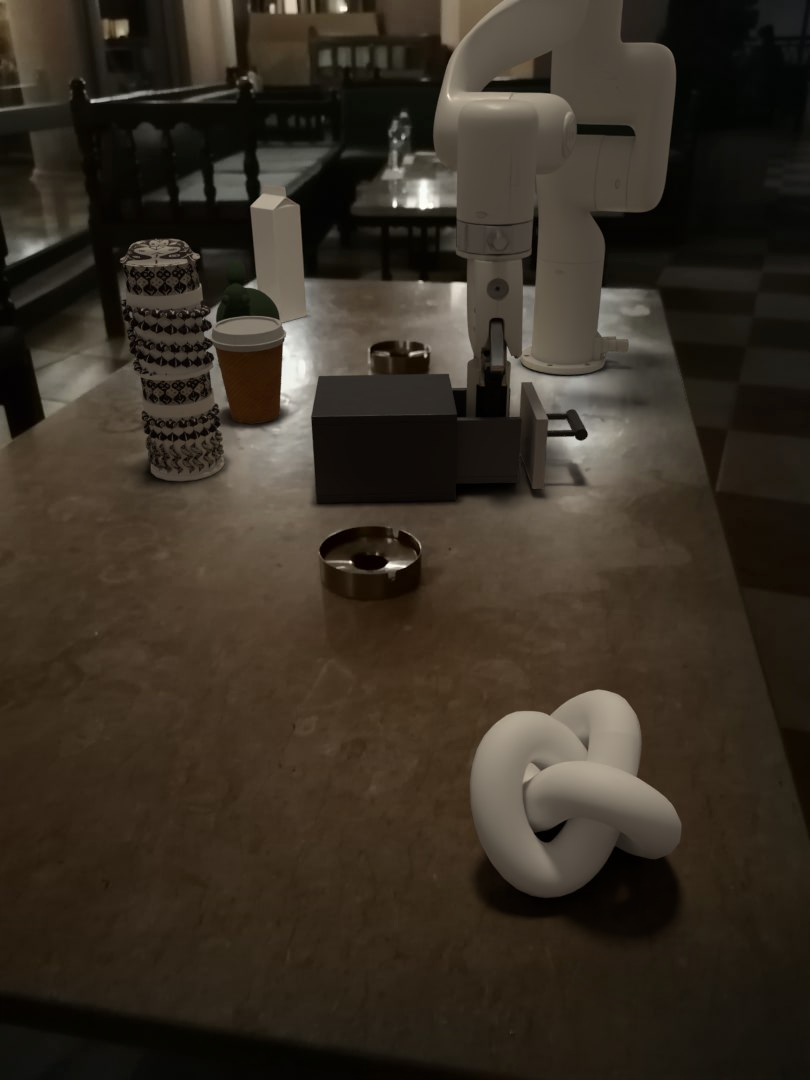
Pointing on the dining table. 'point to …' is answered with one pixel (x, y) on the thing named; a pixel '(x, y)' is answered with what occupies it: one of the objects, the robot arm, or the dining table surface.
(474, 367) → the cylinder
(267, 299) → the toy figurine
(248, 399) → the disposable coffee cup
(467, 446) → the drawer
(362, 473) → the dark gray cabinet
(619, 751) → the white knot sculpture
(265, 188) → the milk
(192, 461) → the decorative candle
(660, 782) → the dining table surface
